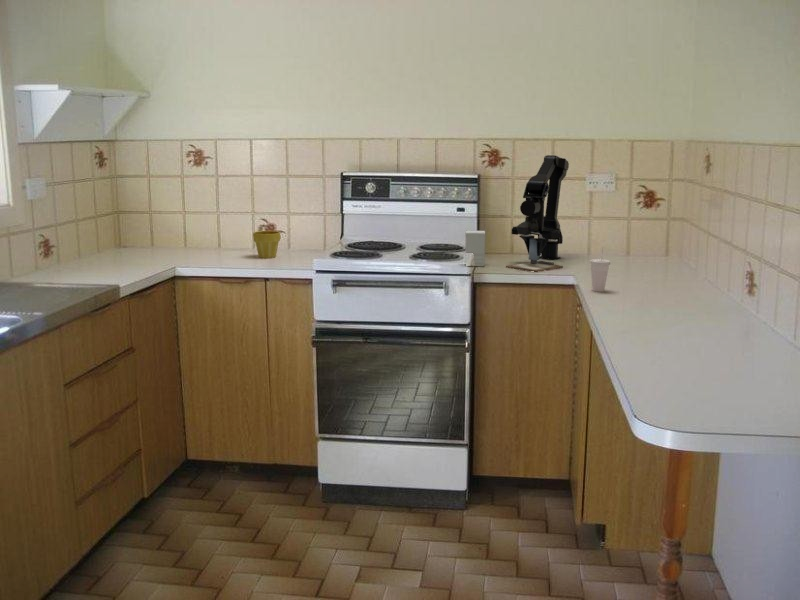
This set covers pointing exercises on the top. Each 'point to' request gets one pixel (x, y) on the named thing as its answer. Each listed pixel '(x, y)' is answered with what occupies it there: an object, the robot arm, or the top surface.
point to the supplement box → (476, 246)
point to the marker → (533, 251)
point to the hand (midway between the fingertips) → (534, 255)
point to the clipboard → (535, 266)
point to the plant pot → (266, 243)
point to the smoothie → (599, 273)
